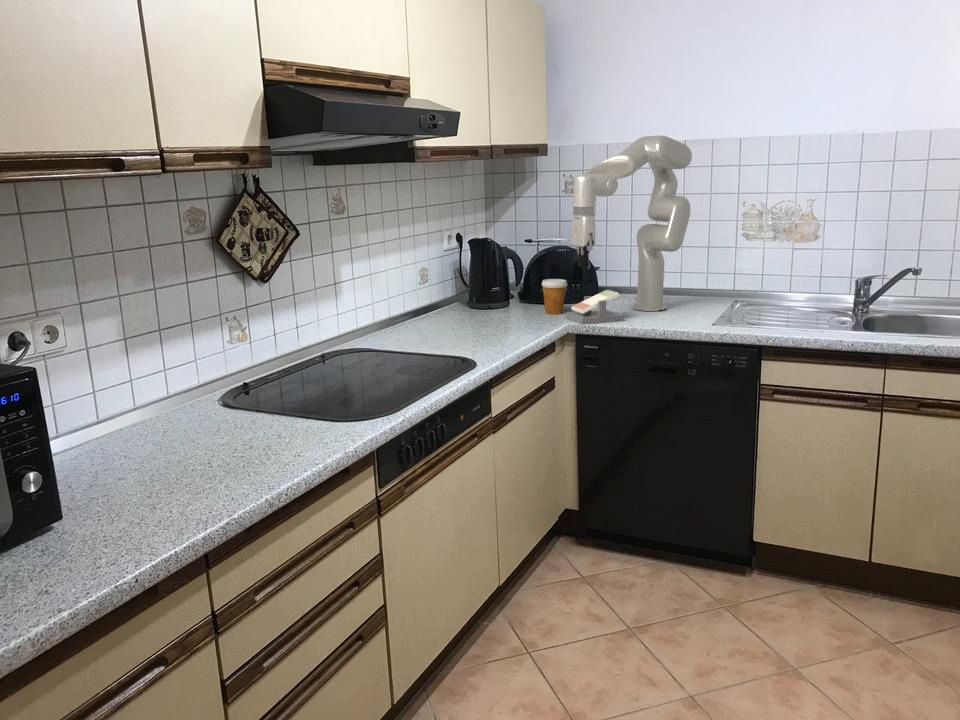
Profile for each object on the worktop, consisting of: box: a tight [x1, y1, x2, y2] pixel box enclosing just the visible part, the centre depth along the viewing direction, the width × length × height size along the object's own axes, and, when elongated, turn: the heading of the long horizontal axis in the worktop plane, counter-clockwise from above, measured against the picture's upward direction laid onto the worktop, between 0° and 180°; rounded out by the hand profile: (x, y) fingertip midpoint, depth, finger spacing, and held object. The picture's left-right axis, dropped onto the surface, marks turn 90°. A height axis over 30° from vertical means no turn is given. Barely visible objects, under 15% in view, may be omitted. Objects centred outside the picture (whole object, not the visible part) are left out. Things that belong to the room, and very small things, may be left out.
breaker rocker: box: [570, 289, 620, 314], centre depth 273 cm, size 8×15×1 cm, turn 111°
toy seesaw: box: [565, 295, 624, 325], centre depth 273 cm, size 12×16×8 cm
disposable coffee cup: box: [541, 278, 568, 315], centre depth 287 cm, size 10×10×12 cm
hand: (583, 266), depth 268 cm, fingers closed
